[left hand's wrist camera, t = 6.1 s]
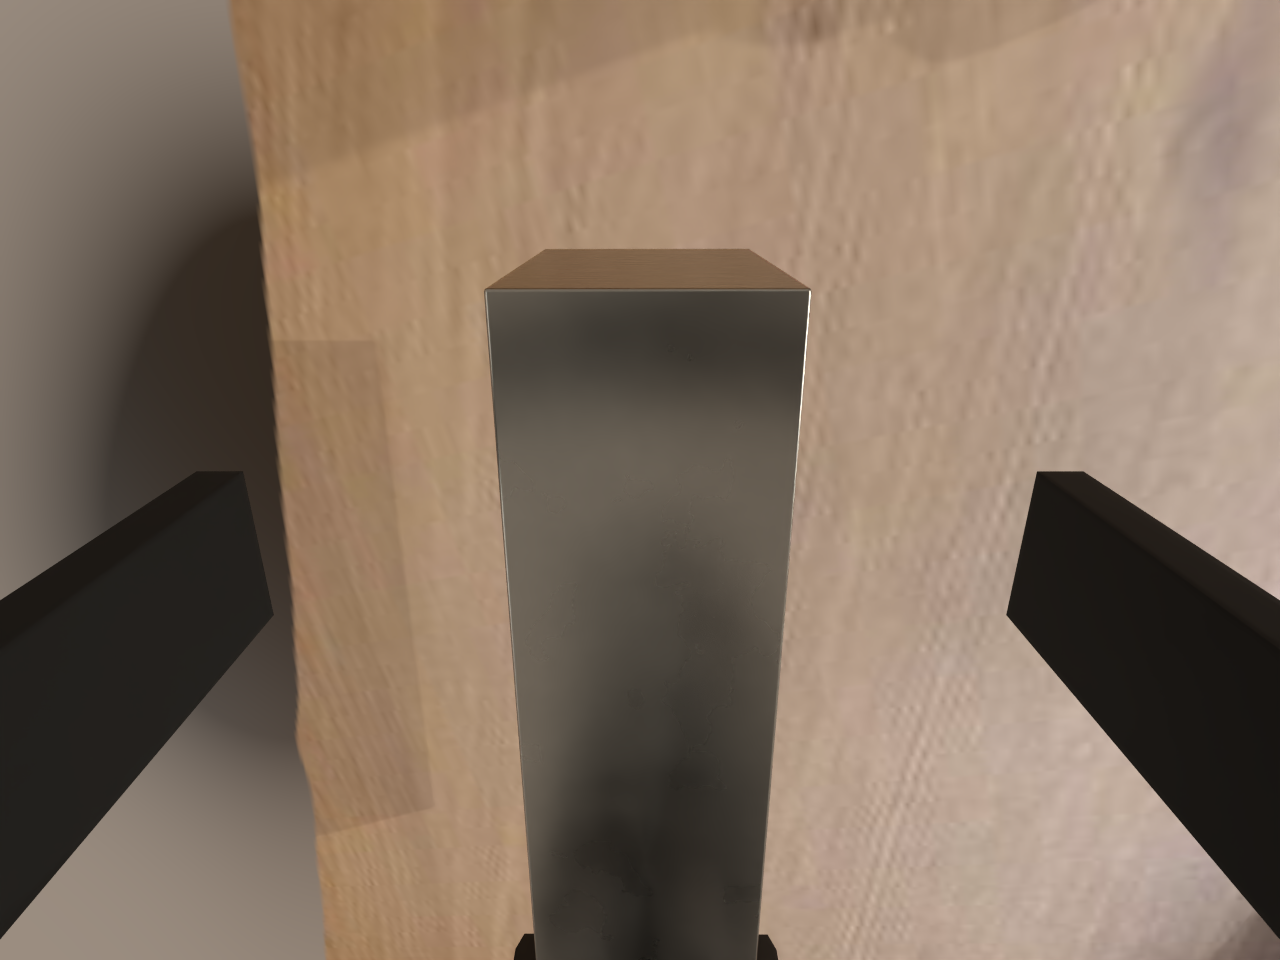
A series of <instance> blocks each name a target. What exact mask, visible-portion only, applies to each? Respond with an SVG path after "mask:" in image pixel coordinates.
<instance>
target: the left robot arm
mask: <svg viewBox="0 0 1280 960" xmlns="http://www.w3.org/2000/svg"><path fill="white" fill-rule="evenodd" d="M273 615H274V614H273V610H272V605H271V600H270V596H269V591H268V586H267V582H266V577H265V572H264V568H263V563H262V559H261V554H260V549H259V544H258V540H257V535H256V530H255V526H254V521H253V516H252V512H251V507H250V502H249V498H248V493H247V488H246V484H245V479H244V474H243V472H195V473H194V474H192V475H191V476H189V477H187V478H186V479H185V480H183V481H181V482H180V483H178V484H177V485H175V486H174V487H172V488H171V489H169V490H168V491H166V492H165V493H163V494H162V495H160V496H159V497H157V498H155V499H154V500H152V501H151V502H149V503H148V504H146V505H145V506H143V507H142V508H140V509H139V510H137V511H136V512H134V513H133V514H131V515H130V516H128V517H127V518H125V519H124V520H122V521H120V522H119V523H117V524H116V525H114V526H113V527H111V528H110V529H108V530H107V531H105V532H104V533H102V534H101V535H99V536H98V537H96V538H95V539H93V540H92V541H90V542H89V543H87V544H85V545H84V546H82V547H81V548H79V549H78V550H76V551H75V552H73V553H72V554H70V555H69V556H67V557H66V558H64V559H63V560H61V561H60V562H58V563H56V564H55V565H53V566H52V567H50V568H49V569H47V570H46V571H44V572H43V573H41V574H40V575H38V576H37V577H35V578H34V579H32V580H31V581H29V582H28V583H26V584H25V585H23V586H21V587H20V588H18V589H17V590H15V591H14V592H12V593H11V594H9V595H8V596H6V597H5V598H3V599H2V600H0V939H1V938H2V936H3V935H4V934H5V933H6V932H7V931H8V929H9V928H10V927H11V926H12V925H13V923H14V922H15V921H16V920H17V919H18V918H19V916H20V915H21V914H22V913H23V912H24V910H25V909H26V908H27V907H28V906H29V904H30V903H31V902H32V901H33V900H34V899H35V897H36V896H37V895H38V894H39V893H40V891H41V890H42V889H43V888H44V887H45V885H46V884H47V883H48V882H49V881H50V880H51V878H52V877H53V876H54V875H55V874H56V872H57V871H58V870H59V869H60V868H61V866H62V865H63V864H64V863H65V862H66V861H67V859H68V858H69V857H70V856H71V855H72V853H73V852H74V851H75V850H76V849H77V847H78V846H79V845H80V844H81V843H82V842H83V840H84V839H85V838H86V837H87V836H88V834H89V833H90V832H91V831H92V830H93V829H94V827H95V826H96V825H97V824H98V823H99V821H100V820H101V819H102V818H103V817H104V816H105V814H106V813H107V812H108V811H109V810H110V808H111V807H112V806H113V805H114V804H115V802H116V801H117V800H118V799H119V798H120V796H121V795H122V794H123V793H124V792H125V791H126V789H127V788H128V787H129V786H130V785H131V784H132V782H133V781H134V780H135V779H136V778H137V776H138V775H139V774H140V773H141V772H142V770H143V769H144V768H145V767H146V766H147V765H148V763H149V762H150V761H151V760H152V759H153V757H154V756H155V755H156V754H157V753H158V751H159V750H160V749H161V748H162V747H163V746H164V744H165V743H166V742H167V741H168V740H169V738H170V737H171V736H172V735H173V734H174V733H175V731H176V730H177V729H178V728H179V727H180V725H181V724H182V723H183V722H184V721H185V719H186V718H187V717H188V716H189V715H190V714H191V712H192V711H193V710H194V709H195V708H196V706H197V705H198V704H199V703H200V702H201V700H202V699H203V698H204V697H205V696H206V694H207V693H208V692H209V691H210V690H211V689H212V687H213V686H214V685H215V684H216V683H217V681H218V680H219V679H220V678H221V677H222V676H223V674H224V673H225V672H226V671H227V670H228V668H229V667H230V666H231V665H232V664H233V663H234V661H235V660H236V659H237V658H238V657H239V655H240V654H241V653H242V652H243V651H244V649H245V648H246V647H247V646H248V645H249V644H250V642H251V641H252V640H253V639H254V638H255V636H256V635H257V634H258V633H259V632H260V630H261V629H262V628H263V627H264V626H265V625H266V623H267V622H268V621H269V620H270V619H271V617H272V616H273ZM1006 615H1007V616H1008V617H1009V619H1010V620H1011V621H1012V622H1013V623H1014V625H1015V626H1016V627H1017V628H1018V629H1019V631H1020V632H1021V633H1022V634H1023V635H1024V636H1025V638H1026V639H1027V640H1028V641H1029V642H1030V644H1031V645H1032V646H1033V647H1034V648H1035V649H1036V651H1037V652H1038V653H1039V654H1040V655H1041V657H1042V658H1043V659H1044V660H1045V661H1046V663H1047V664H1048V665H1049V666H1050V667H1051V668H1052V670H1053V671H1054V672H1055V673H1056V674H1057V676H1058V677H1059V678H1060V679H1061V680H1062V682H1063V683H1064V684H1065V685H1066V686H1067V687H1068V689H1069V690H1070V691H1071V692H1072V693H1073V695H1074V696H1075V697H1076V698H1077V699H1078V700H1079V702H1080V703H1081V704H1082V705H1083V706H1084V708H1085V709H1086V710H1087V711H1088V712H1089V714H1090V715H1091V716H1092V717H1093V718H1094V719H1095V721H1096V722H1097V723H1098V724H1099V725H1100V727H1101V728H1102V729H1103V730H1104V731H1105V733H1106V734H1107V735H1108V736H1109V737H1110V738H1111V740H1112V741H1113V742H1114V743H1115V744H1116V746H1117V747H1118V748H1119V749H1120V750H1121V751H1122V753H1123V754H1124V755H1125V756H1126V757H1127V759H1128V760H1129V761H1130V762H1131V763H1132V765H1133V766H1134V767H1135V768H1136V769H1137V770H1138V772H1139V773H1140V774H1141V775H1142V776H1143V778H1144V779H1145V780H1146V781H1147V782H1148V784H1149V785H1150V786H1151V787H1152V788H1153V789H1154V791H1155V792H1156V793H1157V794H1158V795H1159V797H1160V798H1161V799H1162V800H1163V801H1164V802H1165V804H1166V805H1167V806H1168V807H1169V808H1170V810H1171V811H1172V812H1173V813H1174V814H1175V816H1176V817H1177V818H1178V819H1179V820H1180V821H1181V823H1182V824H1183V825H1184V826H1185V827H1186V829H1187V830H1188V831H1189V832H1190V833H1191V834H1192V836H1193V837H1194V838H1195V839H1196V840H1197V842H1198V843H1199V844H1200V845H1201V846H1202V848H1203V849H1204V850H1205V851H1206V852H1207V853H1208V855H1209V856H1210V857H1211V858H1212V859H1213V861H1214V862H1215V863H1216V864H1217V865H1218V867H1219V868H1220V869H1221V870H1222V871H1223V872H1224V874H1225V875H1226V876H1227V877H1228V878H1229V880H1230V881H1231V882H1232V883H1233V884H1234V885H1235V887H1236V888H1237V889H1238V890H1239V891H1240V893H1241V894H1242V895H1243V896H1244V897H1245V899H1246V900H1247V901H1248V902H1249V903H1250V904H1251V906H1252V907H1253V908H1254V909H1255V910H1256V912H1257V913H1258V914H1259V915H1260V916H1261V918H1262V919H1263V920H1264V921H1265V922H1266V923H1267V925H1268V926H1269V927H1270V928H1271V929H1272V931H1273V932H1274V933H1275V934H1276V935H1277V936H1278V938H1279V939H1280V600H1278V599H1277V598H1275V597H1274V596H1272V595H1271V594H1269V593H1268V592H1266V591H1265V590H1263V589H1262V588H1260V587H1259V586H1257V585H1256V584H1254V583H1252V582H1251V581H1249V580H1248V579H1246V578H1245V577H1243V576H1242V575H1240V574H1239V573H1237V572H1236V571H1234V570H1233V569H1231V568H1230V567H1228V566H1227V565H1225V564H1224V563H1222V562H1220V561H1219V560H1217V559H1216V558H1214V557H1213V556H1211V555H1210V554H1208V553H1207V552H1205V551H1204V550H1202V549H1201V548H1199V547H1198V546H1196V545H1195V544H1193V543H1192V542H1190V541H1189V540H1187V539H1185V538H1184V537H1182V536H1181V535H1179V534H1178V533H1176V532H1175V531H1173V530H1172V529H1170V528H1169V527H1167V526H1166V525H1164V524H1163V523H1161V522H1160V521H1158V520H1157V519H1155V518H1153V517H1152V516H1150V515H1149V514H1147V513H1146V512H1144V511H1143V510H1141V509H1140V508H1138V507H1137V506H1135V505H1134V504H1132V503H1131V502H1129V501H1128V500H1126V499H1125V498H1123V497H1121V496H1120V495H1118V494H1117V493H1115V492H1114V491H1112V490H1111V489H1109V488H1108V487H1106V486H1105V485H1103V484H1102V483H1100V482H1099V481H1097V480H1096V479H1094V478H1093V477H1091V476H1089V475H1088V474H1086V473H1085V472H1037V474H1036V479H1035V484H1034V488H1033V493H1032V498H1031V502H1030V507H1029V512H1028V516H1027V521H1026V526H1025V530H1024V535H1023V540H1022V544H1021V549H1020V554H1019V558H1018V563H1017V568H1016V572H1015V577H1014V582H1013V586H1012V591H1011V596H1010V600H1009V605H1008V610H1007V614H1006Z"/></svg>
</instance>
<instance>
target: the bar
mask: <svg viewBox="0 0 1280 960" xmlns="http://www.w3.org/2000/svg"><path fill="white" fill-rule="evenodd" d="M484 296H485V308H486V321H487V334H488V347H489V360H490V373H491V386H492V399H493V412H494V424H495V437H496V450H497V463H498V476H499V489H500V502H501V515H502V528H503V540H504V553H505V566H506V579H507V592H508V605H509V618H510V631H511V643H512V656H513V669H514V682H515V695H516V708H517V721H518V734H519V747H520V759H521V772H522V785H523V798H524V811H525V824H526V837H527V850H528V863H529V875H530V888H531V901H532V914H533V927H534V940H535V953H536V960H756V959H757V947H758V935H759V923H760V911H761V899H762V886H763V874H764V862H765V850H766V838H767V826H768V813H769V801H770V789H771V777H772V765H773V753H774V740H775V728H776V716H777V704H778V692H779V679H780V667H781V655H782V643H783V631H784V619H785V606H786V594H787V582H788V570H789V558H790V546H791V533H792V521H793V509H794V497H795V485H796V473H797V460H798V448H799V436H800V424H801V412H802V400H803V387H804V375H805V363H806V351H807V339H808V327H809V314H810V302H811V289H810V288H808V287H807V286H805V285H804V284H802V283H801V282H799V281H798V280H796V279H794V278H793V277H791V276H790V275H788V274H787V273H785V272H784V271H782V270H781V269H779V268H777V267H776V266H774V265H773V264H771V263H770V262H768V261H767V260H765V259H764V258H762V257H760V256H759V255H757V254H756V253H754V252H753V251H751V250H750V249H545V250H543V251H542V252H540V253H539V254H537V255H536V256H534V257H533V258H531V259H530V260H528V261H527V262H525V263H524V264H522V265H521V266H519V267H518V268H516V269H515V270H513V271H512V272H510V273H509V274H507V275H506V276H504V277H503V278H501V279H500V280H498V281H497V282H495V283H494V284H492V285H490V286H489V287H487V288H486V289H485V291H484Z"/></svg>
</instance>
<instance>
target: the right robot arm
mask: <svg viewBox="0 0 1280 960" xmlns="http://www.w3.org/2000/svg"><path fill="white" fill-rule="evenodd" d="M514 960H536V953H535V940H534V934H524V935H523V937H522V939H521V941H520V942H519V944H518V946H517V947H516V950H515V956H514ZM756 960H778V956H777V951H776V948H775V947H774V945H773V943H772V942H771V940H770V938H769V936H768V935H758V947H757V959H756Z"/></svg>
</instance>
